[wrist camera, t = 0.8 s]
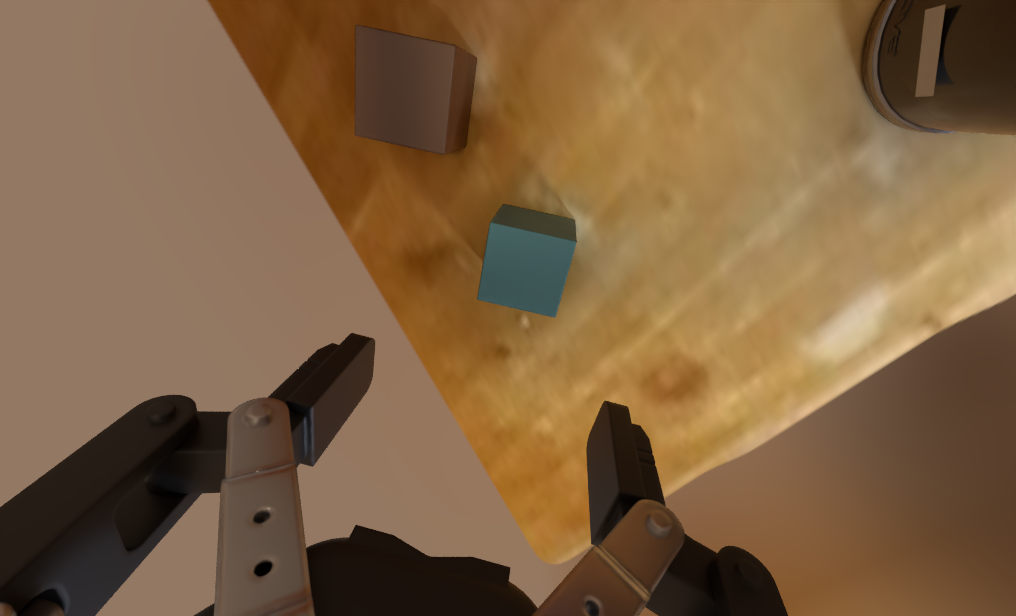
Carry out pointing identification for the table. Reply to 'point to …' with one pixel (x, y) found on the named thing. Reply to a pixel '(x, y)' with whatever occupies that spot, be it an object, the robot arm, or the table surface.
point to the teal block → (527, 260)
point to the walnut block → (412, 90)
